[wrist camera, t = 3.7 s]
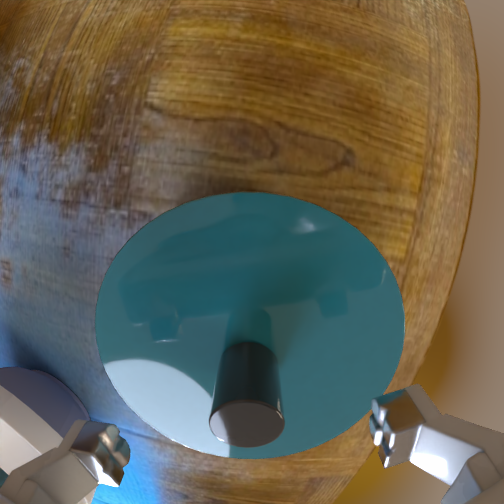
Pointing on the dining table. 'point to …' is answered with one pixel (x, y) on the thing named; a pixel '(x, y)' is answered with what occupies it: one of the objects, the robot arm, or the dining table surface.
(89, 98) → the dining table surface
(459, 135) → the dining table surface
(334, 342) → the pot lid
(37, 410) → the bowl
